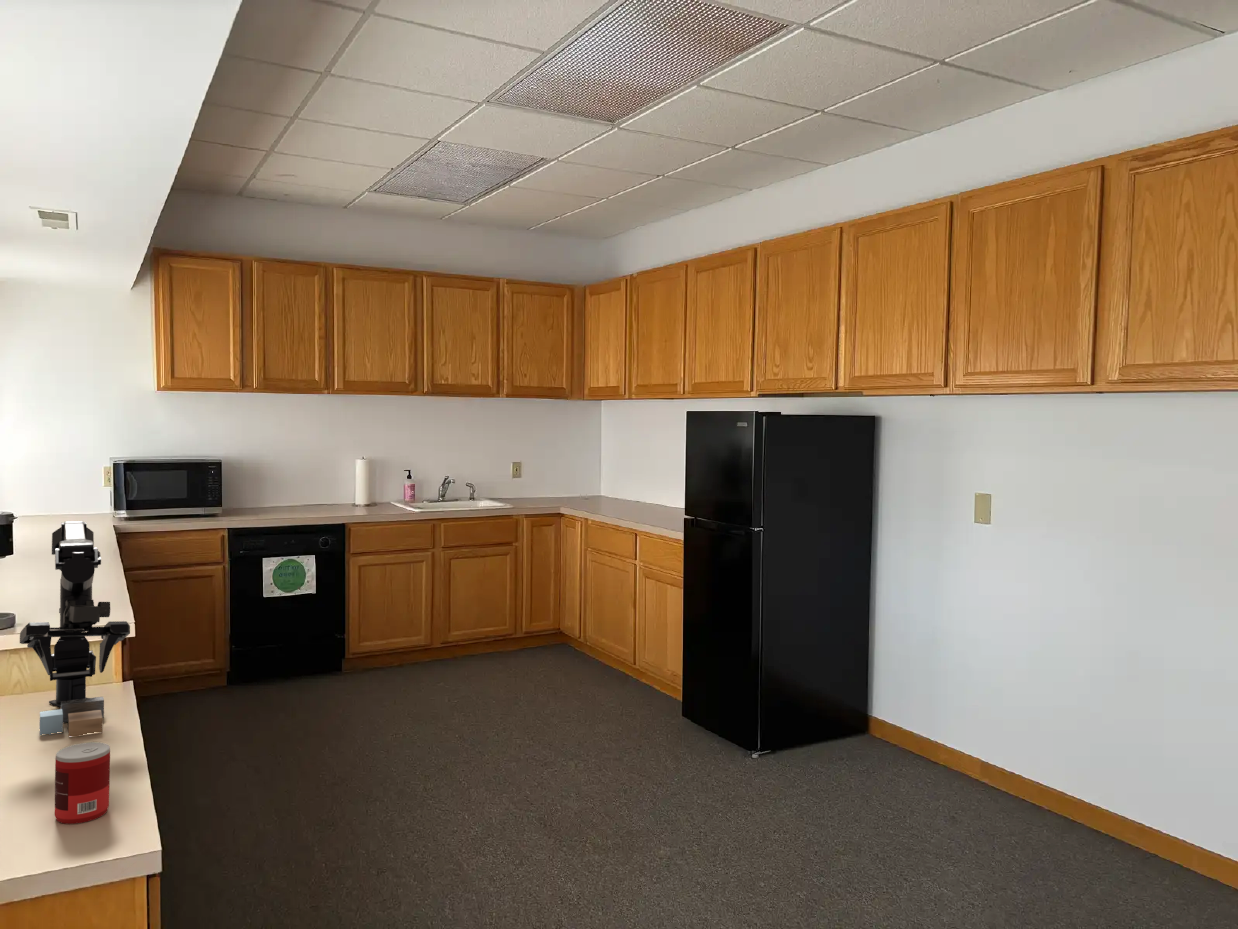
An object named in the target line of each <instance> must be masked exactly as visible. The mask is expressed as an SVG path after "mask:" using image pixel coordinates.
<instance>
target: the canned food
mask: <svg viewBox="0 0 1238 929" xmlns="http://www.w3.org/2000/svg"><path fill="white" fill-rule="evenodd" d="M110 748H111V746H110V744H108V743H106V742H105V743H104V742H101V741H100V742H98V741H96V742H94V741H93V742H92V741H91V742H90V741H89V742H81V743H77V744H76V743H75V744H72V745H69V746H65V747H64V748H62V749H60V750H57V752H56V753H55V763H54V764H55V767H54V768H55V769H54V817H55V818H56V821H57V822H58V823H61V824H64V825H75V824H83V823H87V822H91V821H94V820H96V819H98V818H101V817H103V816H104V815H105V814H106V813H107V812H108V809H109V807H110V781H111V780H110V778H111V777H110V772H111V749H110Z"/></svg>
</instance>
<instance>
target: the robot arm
mask: <svg viewBox="0 0 1238 929" xmlns="http://www.w3.org/2000/svg"><path fill="white" fill-rule="evenodd" d="M87 524H88V523H87V522H86V521H84V520H74V521H71V520H69V521H68V520H67V521H64V522H61V523H60V527H59V528H58V529H56V530H55V531H53V532H52V533H51V555H52V556H54V569H55V571H56V570H59V571H60V572H61V573H60V582H59V583H60V586H59V587H60V589H59V591H60V592H59V595H60V596H59V610H58V613H59V627H51V626H50V623H49V622H45V621H43V622H41V621H40V622H35V621H33V622H28V623H27V624H25V626H24V627H23V628H22V629H21V630H20V633H19V644H21V645H27V648H29V649H33V651H34V653H35V654H36V655H37V657H39V659H40V661H41V663H42V665H43V667H44V669H45V671H46V673H47V675H48V676H49V681H50V682H51V681H55V683H56V684H55V699H53V700H51V699H50V700H49V701H48V704H50V705H52V706H56V707H60V708H61V701H69V700H77V699H86V698H87V696H86V695H87V692H86V691H87V683H86V682H87V679H86V678H87V677H88V678H90V677H91V678H92V677H93V676H94V675H96V664H97V656H96V655H95V654H94V652H93V650H90V641H89V640H88V639H87V638H86V637H100V638H101V642H100V643H99V656H98V657H99V660H98V670H99V673H100V674H102V673H103V672H104V671H105V668H106V665H107V662H108V659H109V657H110V654H111V652H112V649H113V648H114V646H115V645H118V643H119V642H122V641H124V639H126V638H127V637H128V636H129V635H130V634H131V626H130V623H129V622H128V621H124V620H123V621H122V620H121V621H119V620H118V621H117V620H116V621H108V622H107V623H106V624H104V626H95V625H96V624H97V623H100V621H101V620H100V619H101V618H109V617H110V616H111V602H110V601H98V602H97V605H95V602H94V599H93V582H94V577H95V570H96V569H98V567H99V566H100V565H102V556H101V552H100V551H99V548H98V547H97V546H96V547H95V546H94V545H95V542H94V539H95V538H94V533H95V532H94V531H93V530H92V529H91V528H89V527H87ZM52 638H58V639H57V641H56V643H55V645H54V646H53V653H52V650H51V648H52V647H51V643H52Z"/></svg>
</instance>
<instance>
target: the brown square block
mask: <svg viewBox="0 0 1238 929" xmlns="http://www.w3.org/2000/svg"><path fill="white" fill-rule="evenodd" d="M67 731H68V733H69V734H68V737H69V736H76V737H80V736H79V735H83V734H87V733H94V732H102V733H103V718H102V713H101V710H95V711H86V712H78V713H69V714H68V723H67ZM83 736H84V735H83Z"/></svg>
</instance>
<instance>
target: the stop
mask: <svg viewBox="0 0 1238 929" xmlns="http://www.w3.org/2000/svg"><path fill="white" fill-rule="evenodd" d="M60 709H62V712H63V724H67V723H66V722H68V714H69V713H78V712H86V711H95V710H101V713H102V719H104V718H105V717H104V716H105V715H104V714H105V699H104V696H97V697H86V699H77V700H69V701H61V707H60Z"/></svg>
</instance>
